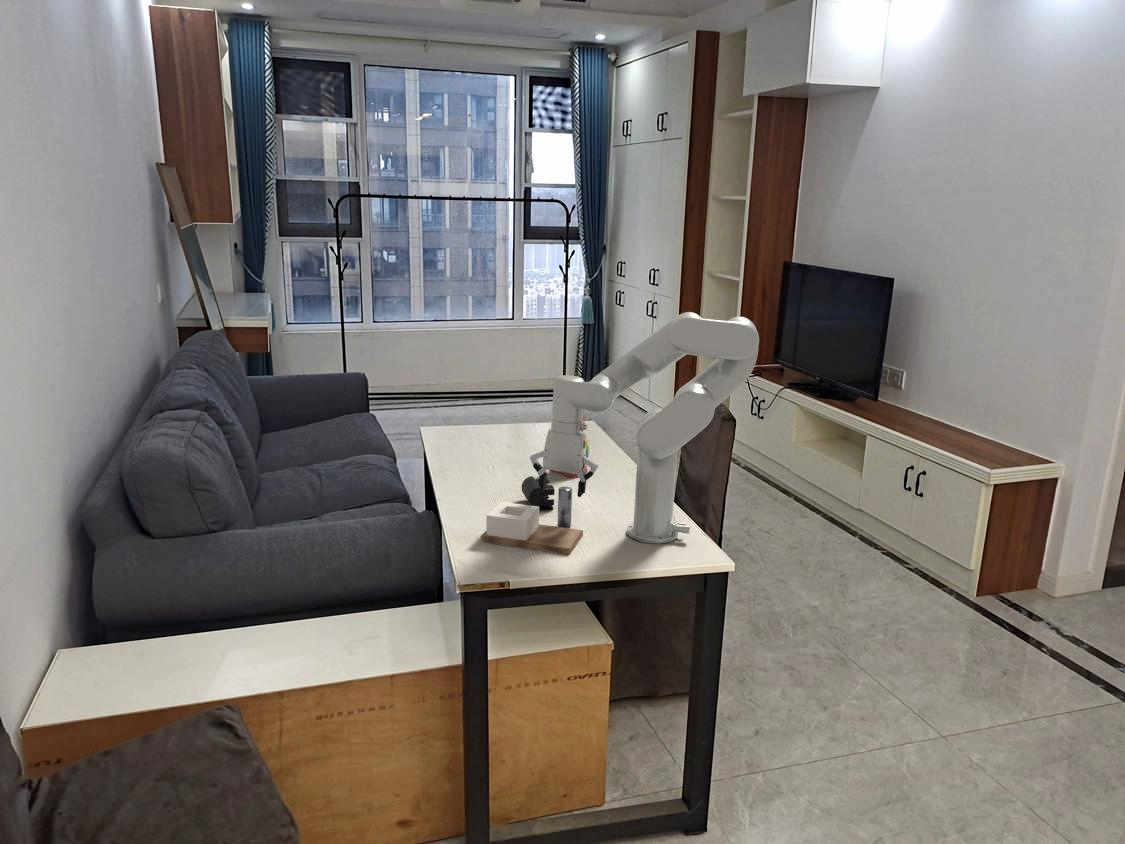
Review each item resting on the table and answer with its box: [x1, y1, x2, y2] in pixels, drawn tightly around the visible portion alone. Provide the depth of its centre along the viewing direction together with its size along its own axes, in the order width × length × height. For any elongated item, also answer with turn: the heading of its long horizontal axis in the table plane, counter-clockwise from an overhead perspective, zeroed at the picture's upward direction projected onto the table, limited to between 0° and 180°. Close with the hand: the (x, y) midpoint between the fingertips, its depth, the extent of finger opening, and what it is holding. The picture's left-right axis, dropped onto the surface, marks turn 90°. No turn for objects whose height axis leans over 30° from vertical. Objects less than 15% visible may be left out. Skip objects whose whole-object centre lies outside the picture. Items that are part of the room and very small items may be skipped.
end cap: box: [521, 475, 555, 512], centre depth 223 cm, size 10×7×7 cm
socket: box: [485, 501, 540, 541], centre depth 201 cm, size 10×10×5 cm
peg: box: [556, 486, 573, 529], centre depth 208 cm, size 3×3×10 cm
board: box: [480, 523, 584, 555], centre depth 201 cm, size 22×12×2 cm, turn 74°
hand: (561, 492), depth 207 cm, fingers open, 9 cm apart
